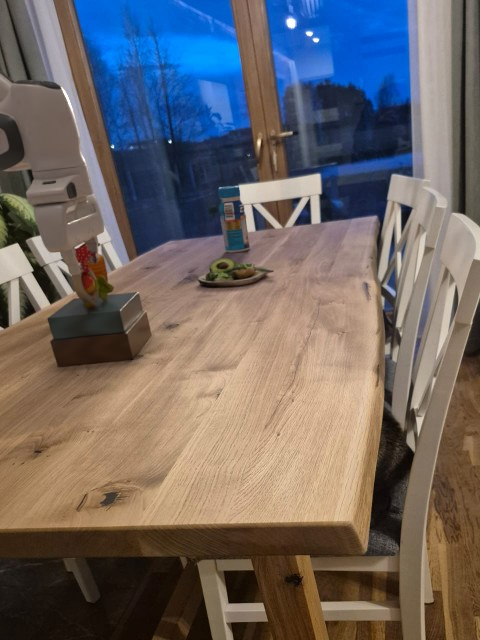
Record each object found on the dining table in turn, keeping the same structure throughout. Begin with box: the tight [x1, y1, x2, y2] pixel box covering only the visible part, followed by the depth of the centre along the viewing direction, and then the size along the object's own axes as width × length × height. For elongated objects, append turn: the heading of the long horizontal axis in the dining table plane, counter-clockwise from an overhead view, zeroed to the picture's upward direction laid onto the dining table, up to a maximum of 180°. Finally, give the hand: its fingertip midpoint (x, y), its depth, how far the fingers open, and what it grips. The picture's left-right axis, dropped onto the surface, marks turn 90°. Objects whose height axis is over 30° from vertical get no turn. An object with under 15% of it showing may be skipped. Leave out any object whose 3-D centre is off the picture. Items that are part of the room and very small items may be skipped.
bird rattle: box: [71, 242, 115, 308], centre depth 105 cm, size 6×11×9 cm
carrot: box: [86, 242, 109, 283], centre depth 146 cm, size 5×5×15 cm
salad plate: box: [197, 257, 274, 288], centre depth 153 cm, size 19×18×5 cm
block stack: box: [47, 291, 152, 368], centre depth 109 cm, size 14×14×9 cm
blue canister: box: [217, 185, 251, 254], centre depth 188 cm, size 8×8×20 cm
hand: (85, 268), depth 104 cm, fingers open, 8 cm apart
